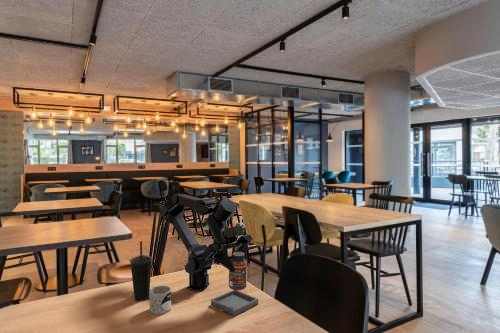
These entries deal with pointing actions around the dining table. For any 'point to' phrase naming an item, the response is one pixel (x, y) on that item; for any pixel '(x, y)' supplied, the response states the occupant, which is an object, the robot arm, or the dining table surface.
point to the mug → (160, 300)
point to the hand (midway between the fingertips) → (240, 268)
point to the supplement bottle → (238, 272)
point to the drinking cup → (141, 275)
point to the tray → (234, 302)
